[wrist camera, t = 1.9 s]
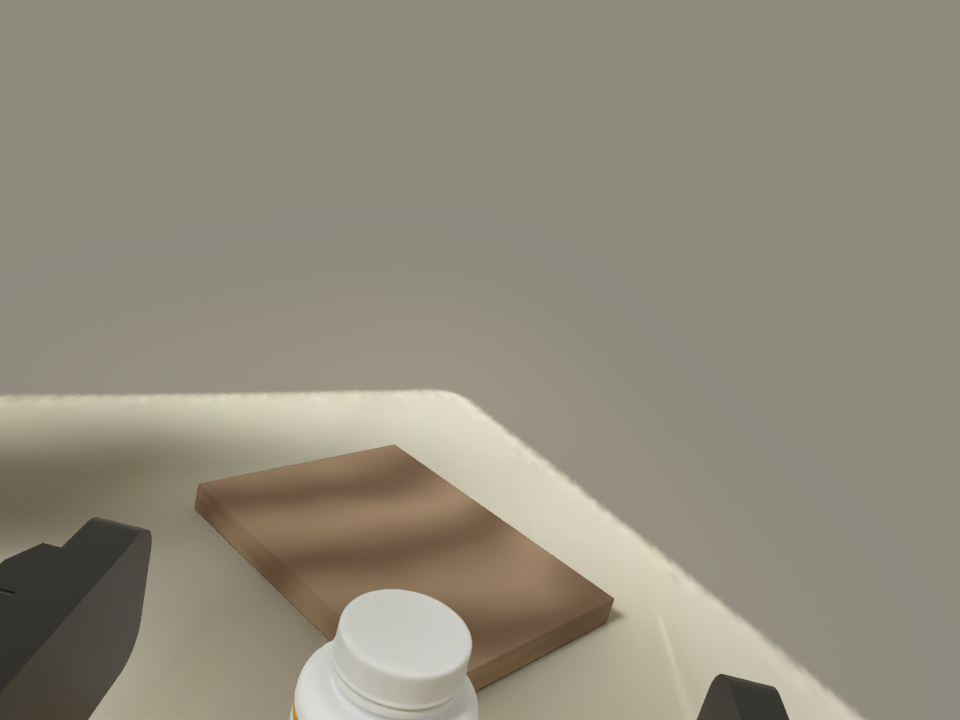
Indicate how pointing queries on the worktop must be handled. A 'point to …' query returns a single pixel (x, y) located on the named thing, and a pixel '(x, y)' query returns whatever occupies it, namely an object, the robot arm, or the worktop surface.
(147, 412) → the worktop surface
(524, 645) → the walnut board
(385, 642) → the supplement bottle
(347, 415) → the worktop surface
